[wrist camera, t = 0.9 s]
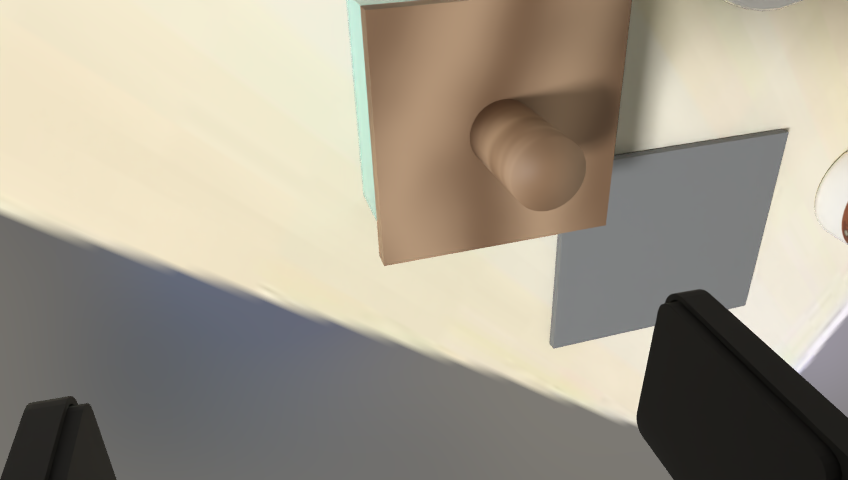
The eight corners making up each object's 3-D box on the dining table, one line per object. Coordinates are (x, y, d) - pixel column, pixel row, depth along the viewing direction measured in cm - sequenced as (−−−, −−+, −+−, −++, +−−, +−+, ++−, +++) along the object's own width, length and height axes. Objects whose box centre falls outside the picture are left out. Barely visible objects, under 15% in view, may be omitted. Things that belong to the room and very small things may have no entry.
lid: (621, -19, 30) (705, 5, 25) (596, 216, 36) (660, 274, 31) (359, 5, 28) (396, 38, 23) (379, 255, 34) (411, 325, 29)
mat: (782, 129, 45) (788, 132, 45) (739, 300, 52) (745, 305, 52) (563, 163, 41) (567, 167, 41) (549, 343, 48) (553, 348, 48)
